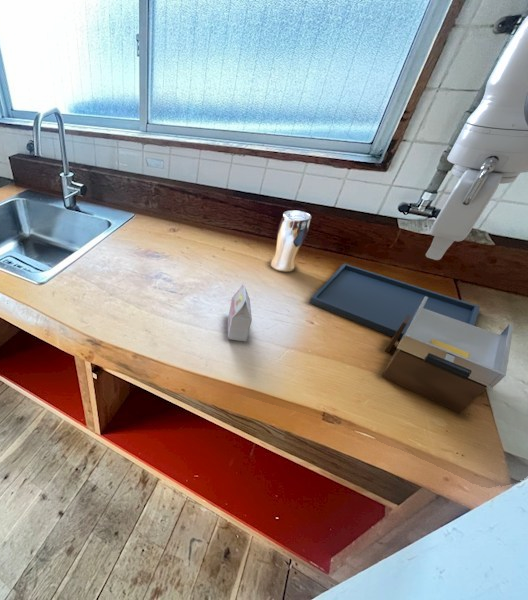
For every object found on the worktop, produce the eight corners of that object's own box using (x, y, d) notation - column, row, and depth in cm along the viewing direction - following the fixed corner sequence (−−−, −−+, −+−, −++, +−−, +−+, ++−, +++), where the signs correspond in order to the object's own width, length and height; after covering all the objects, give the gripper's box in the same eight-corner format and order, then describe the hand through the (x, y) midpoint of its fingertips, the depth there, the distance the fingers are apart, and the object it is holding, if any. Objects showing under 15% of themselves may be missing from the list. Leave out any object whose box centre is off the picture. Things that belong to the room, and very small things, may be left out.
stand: (480, 380, 57) (509, 351, 52) (471, 419, 51) (503, 390, 47) (389, 342, 65) (407, 314, 61) (372, 372, 59) (391, 343, 55)
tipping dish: (502, 338, 56) (515, 323, 54) (489, 403, 46) (505, 388, 44) (417, 308, 63) (425, 294, 61) (390, 359, 53) (399, 344, 51)
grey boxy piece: (244, 320, 72) (253, 284, 66) (246, 341, 67) (256, 303, 61) (227, 318, 73) (235, 282, 67) (228, 339, 68) (235, 301, 62)
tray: (475, 311, 72) (480, 306, 71) (460, 364, 60) (465, 358, 59) (342, 268, 88) (344, 263, 87) (309, 302, 76) (311, 297, 75)
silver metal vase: (296, 274, 86) (313, 221, 77) (268, 270, 88) (282, 218, 79) (295, 261, 91) (311, 211, 82) (269, 258, 94) (282, 208, 85)
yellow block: (467, 355, 52) (469, 352, 52) (465, 362, 51) (467, 360, 50) (430, 341, 55) (432, 338, 55) (427, 347, 54) (429, 345, 53)
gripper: (528, 171, 34) (453, 280, 42) (535, 139, 45) (475, 231, 53) (451, 162, 38) (396, 264, 46) (475, 135, 49) (428, 221, 57)
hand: (439, 246), depth 50 cm, fingers open, 8 cm apart
